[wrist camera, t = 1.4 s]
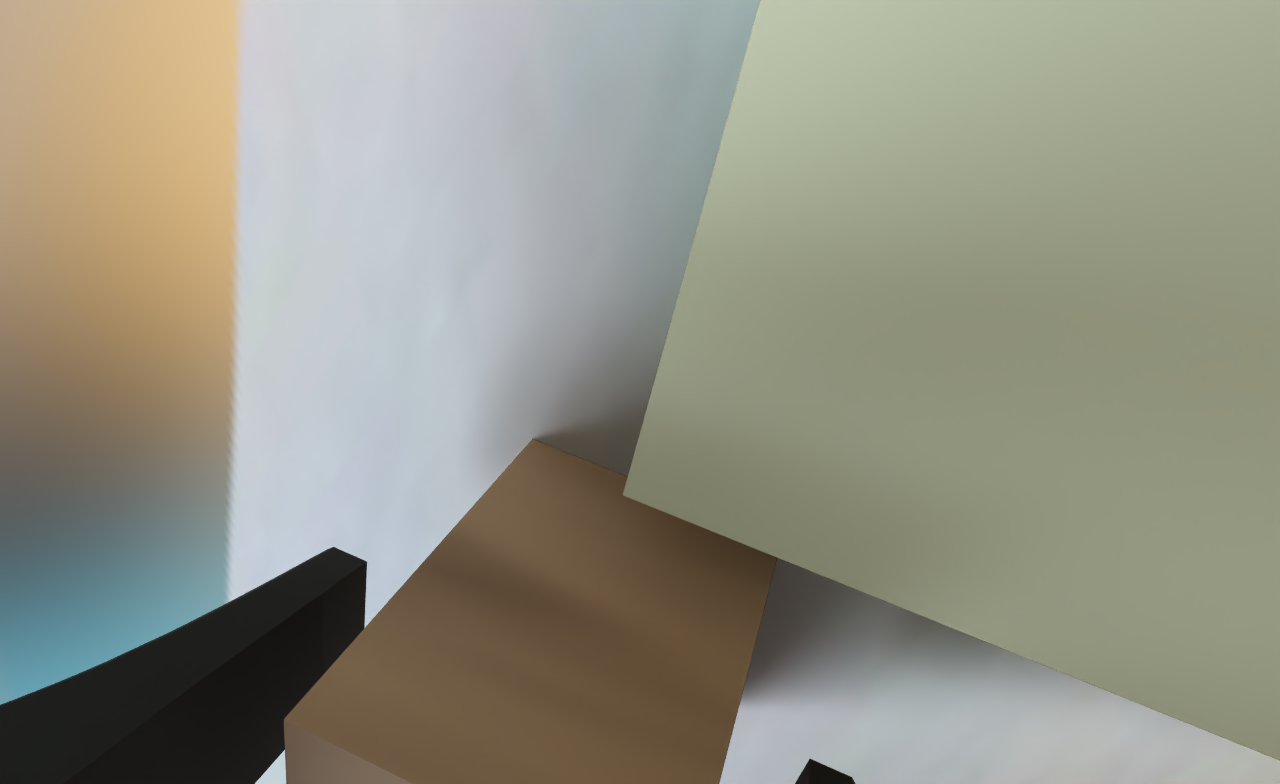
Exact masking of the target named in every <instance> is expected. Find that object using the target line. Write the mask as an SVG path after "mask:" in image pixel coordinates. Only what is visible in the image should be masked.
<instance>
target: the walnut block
mask: <svg viewBox="0 0 1280 784" xmlns="http://www.w3.org/2000/svg"><path fill="white" fill-rule="evenodd" d="M627 478H628V477H626V476H624V475H621V474H619V473H616V472H614V471H611V470H609V469H606V468H604V467H601V466H599V465H596V464H594V463H591V462H589V461H586V460H584V459H581V458H579V457H576V456H574V455H571V454H568V453H566V452H563V451H561V450H558V449H556V448H553V447H551V446H548V445H546V444H543V443H541V442H538V441H536V440H533V439H532V440H531V441H530V443H529V444H528V445H527V446H526V447H525V448H524V449H523V450H522V452H521V453H520V454H519V455H518V456H517V457H516V458H515V459H514V461H513V462H512V463H511V464H510V465H509V466H508V467H507V468H506V470H505V471H504V472H503V473H502V474H501V475H500V476H499V477H498V479H497V480H496V481H495V482H494V483H493V484H492V485H491V486H490V488H489V489H488V490H487V491H486V492H485V493H484V494H483V496H482V497H481V498H480V499H479V500H478V501H477V502H476V503H475V505H474V506H473V507H472V508H471V509H470V510H469V511H468V512H467V514H466V515H465V516H464V517H463V518H462V519H461V520H460V521H459V523H458V524H457V525H456V526H455V527H454V528H453V529H452V530H451V532H450V533H449V534H448V535H447V536H446V537H445V538H444V539H443V541H442V542H441V543H440V544H439V545H438V546H437V547H436V548H435V550H434V551H433V552H432V553H431V554H430V555H429V556H428V557H427V559H426V560H425V561H424V562H423V563H422V564H421V565H420V566H419V568H418V569H417V570H416V571H415V572H414V573H413V574H412V575H411V577H410V578H409V579H408V580H407V581H406V582H405V583H404V585H403V586H402V587H401V588H400V589H399V590H398V591H397V592H396V594H395V595H394V596H393V597H392V598H391V599H390V600H389V601H388V603H387V604H386V605H385V606H384V607H383V608H382V609H381V610H380V612H379V613H378V614H377V615H376V616H375V617H374V618H373V619H372V621H371V622H370V623H369V624H368V625H367V626H366V627H365V628H364V630H363V631H362V632H361V633H360V634H359V635H358V636H357V637H356V639H355V640H354V641H353V642H352V643H351V644H350V645H349V646H348V648H347V649H346V650H345V651H344V652H343V653H342V654H341V655H340V657H339V658H338V659H337V660H336V661H335V662H334V663H333V665H332V666H331V667H330V668H329V669H328V670H327V671H326V672H325V674H324V675H323V676H322V677H321V678H320V679H319V680H318V681H317V683H316V684H315V685H314V686H313V687H312V688H311V689H310V690H309V692H308V693H307V694H306V695H305V696H304V697H303V698H302V699H301V701H300V702H299V703H298V704H297V705H296V706H295V707H294V708H293V710H292V711H291V712H290V713H289V714H288V715H287V716H286V717H285V719H284V738H285V760H286V783H287V784H719V782H720V778H721V774H722V770H723V767H724V763H725V759H726V755H727V751H728V747H729V743H730V739H731V735H732V731H733V728H734V724H735V720H736V716H737V712H738V708H739V704H740V700H741V696H742V692H743V689H744V685H745V681H746V677H747V673H748V669H749V665H750V661H751V657H752V654H753V650H754V646H755V642H756V638H757V634H758V630H759V626H760V622H761V618H762V615H763V611H764V607H765V603H766V599H767V595H768V591H769V587H770V583H771V579H772V576H773V572H774V568H775V564H776V560H777V557H775V556H772V555H770V554H767V553H765V552H762V551H760V550H757V549H755V548H752V547H750V546H747V545H745V544H742V543H740V542H737V541H735V540H732V539H730V538H728V537H725V536H723V535H720V534H718V533H715V532H713V531H710V530H708V529H705V528H703V527H700V526H698V525H695V524H693V523H690V522H688V521H685V520H683V519H680V518H678V517H676V516H673V515H671V514H668V513H666V512H663V511H661V510H658V509H656V508H653V507H651V506H648V505H646V504H643V503H641V502H638V501H636V500H633V499H631V498H628V497H626V496H623V492H624V489H625V485H626V481H627Z"/></svg>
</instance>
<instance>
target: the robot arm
mask: <svg viewBox="0 0 1280 784" xmlns="http://www.w3.org/2000/svg"><path fill="white" fill-rule="evenodd" d="M366 571H367V562H366V561H364V560H362V559H360V558H357V557H355V556H353V555H351V554H348V553H346V552H344V551H342V550H339V549H337V548H335V547H332V548H330V549H327V550H326V551H324V552H322V553H320V554H318V555H316V556H314V557H312V558H311V559H309V560H307V561H305V562H303V563H301V564H300V565H298V566H296V567H294V568H292V569H290V570H288V571H287V572H285V573H283V574H281V575H279V576H277V577H276V578H274V579H272V580H270V581H268V582H266V583H264V584H263V585H261V586H259V587H257V588H255V589H253V590H251V591H249V592H248V593H246V594H244V595H242V596H240V597H238V598H236V599H234V600H232V601H230V602H228V603H226V604H225V605H223V606H221V607H219V608H217V609H215V610H213V611H211V612H209V613H207V614H205V615H203V616H201V617H199V618H197V619H195V620H193V621H191V622H189V623H187V624H185V625H183V626H181V627H179V628H177V629H175V630H173V631H171V632H169V633H167V634H165V635H163V636H161V637H158V638H156V639H154V640H152V641H150V642H148V643H145V644H143V645H141V646H139V647H137V648H135V649H133V650H131V651H128V652H126V653H124V654H122V655H120V656H117V657H115V658H113V659H111V660H109V661H107V662H104V663H102V664H100V665H98V666H95V667H93V668H91V669H89V670H86V671H84V672H81V673H79V674H77V675H74V676H72V677H70V678H67V679H65V680H62V681H60V682H58V683H55V684H53V685H50V686H47V687H45V688H42V689H40V690H37V691H35V692H32V693H30V694H27V695H25V696H22V697H20V698H17V699H15V700H12V701H9V702H7V703H4V704H1V705H0V784H255V783H256V781H257V780H258V779H259V778H260V777H261V776H262V775H263V773H264V772H265V771H266V770H267V769H268V768H269V767H270V766H271V764H272V763H273V762H274V761H275V760H276V759H277V758H278V756H279V755H280V754H281V753H282V752H283V751H284V750H285V738H284V719H285V717H286V716H287V715H288V714H289V713H290V712H291V711H292V710H293V708H294V707H295V706H296V705H297V704H298V703H299V702H300V701H301V699H302V698H303V697H304V696H305V695H306V694H307V693H308V692H309V690H310V689H311V688H312V687H313V686H314V685H315V684H316V683H317V681H318V680H319V679H320V678H321V677H322V676H323V675H324V674H325V672H326V671H327V670H328V669H329V668H330V667H331V666H332V665H333V663H334V662H335V661H336V660H337V659H338V658H339V657H340V655H341V654H342V653H343V652H344V651H345V650H346V649H347V648H348V646H349V645H350V644H351V643H352V642H353V641H354V640H355V639H356V637H357V636H358V635H359V634H360V633H361V632H362V631H363V630H364V622H365V597H366ZM795 784H855V782H854V780H853V778H852V777H850V776H848V775H845V774H843V773H841V772H839V771H836V770H834V769H832V768H830V767H827V766H825V765H823V764H821V763H818V762H816V761H814V760H812V759H809V761H808V763H807V764H806V766H805V768H804V770H803V771H802V773H801V775H800V776H799V778H798V780H797V781H796V783H795Z"/></svg>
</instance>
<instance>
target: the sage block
mask: <svg viewBox="0 0 1280 784" xmlns="http://www.w3.org/2000/svg"><path fill="white" fill-rule="evenodd" d="M623 496H626V497H628V498H631V499H633V500H636V501H638V502H641V503H643V504H646V505H648V506H651V507H653V508H656V509H658V510H661V511H663V512H666V513H668V514H671V515H673V516H676V517H678V518H680V519H683V520H685V521H688V522H690V523H693V524H695V525H698V526H700V527H703V528H705V529H708V530H710V531H713V532H715V533H718V534H720V535H723V536H725V537H728V538H730V539H732V540H735V541H737V542H740V543H742V544H745V545H747V546H750V547H752V548H755V549H757V550H760V551H762V552H765V553H767V554H770V555H772V556H775V557H777V558H780V559H782V560H784V561H787V562H789V563H792V564H794V565H797V566H799V567H802V568H804V569H807V570H809V571H812V572H814V573H817V574H819V575H822V576H824V577H827V578H829V579H832V580H834V581H836V582H839V583H841V584H844V585H846V586H849V587H851V588H854V589H856V590H859V591H861V592H864V593H866V594H869V595H871V596H874V597H876V598H879V599H881V600H884V601H886V602H888V603H891V604H893V605H896V606H898V607H901V608H903V609H906V610H908V611H911V612H913V613H916V614H918V615H921V616H923V617H926V618H928V619H931V620H933V621H936V622H938V623H941V624H943V625H945V626H948V627H950V628H953V629H955V630H958V631H960V632H963V633H965V634H968V635H970V636H973V637H975V638H978V639H980V640H983V641H985V642H988V643H990V644H993V645H995V646H997V647H1000V648H1002V649H1005V650H1007V651H1010V652H1012V653H1015V654H1017V655H1020V656H1022V657H1025V658H1027V659H1030V660H1032V661H1035V662H1037V663H1040V664H1042V665H1045V666H1047V667H1049V668H1052V669H1054V670H1057V671H1059V672H1062V673H1064V674H1067V675H1069V676H1072V677H1074V678H1077V679H1079V680H1082V681H1084V682H1087V683H1089V684H1092V685H1094V686H1097V687H1099V688H1101V689H1104V690H1106V691H1109V692H1111V693H1114V694H1116V695H1119V696H1121V697H1124V698H1126V699H1129V700H1131V701H1134V702H1136V703H1139V704H1141V705H1144V706H1146V707H1149V708H1151V709H1153V710H1156V711H1158V712H1161V713H1163V714H1166V715H1168V716H1171V717H1173V718H1176V719H1178V720H1181V721H1183V722H1186V723H1188V724H1191V725H1193V726H1196V727H1198V728H1201V729H1203V730H1206V731H1208V732H1210V733H1213V734H1215V735H1218V736H1220V737H1223V738H1225V739H1228V740H1230V741H1233V742H1235V743H1238V744H1240V745H1243V746H1245V747H1248V748H1250V749H1253V750H1255V751H1258V752H1260V753H1262V754H1265V755H1267V756H1270V757H1272V758H1275V759H1277V760H1280V0H760V3H759V6H758V10H757V14H756V17H755V21H754V24H753V28H752V32H751V35H750V39H749V42H748V46H747V50H746V53H745V57H744V60H743V64H742V68H741V71H740V75H739V78H738V82H737V86H736V89H735V93H734V96H733V100H732V104H731V107H730V111H729V114H728V118H727V122H726V125H725V129H724V132H723V136H722V140H721V143H720V147H719V150H718V154H717V157H716V161H715V165H714V168H713V172H712V175H711V179H710V183H709V186H708V190H707V193H706V197H705V201H704V204H703V208H702V211H701V215H700V219H699V222H698V226H697V229H696V233H695V237H694V240H693V244H692V247H691V251H690V255H689V258H688V262H687V265H686V269H685V273H684V276H683V280H682V283H681V287H680V291H679V294H678V298H677V301H676V305H675V309H674V312H673V316H672V319H671V323H670V327H669V330H668V334H667V337H666V341H665V345H664V348H663V352H662V355H661V359H660V363H659V366H658V370H657V373H656V377H655V381H654V384H653V388H652V391H651V395H650V399H649V402H648V406H647V409H646V413H645V417H644V420H643V424H642V427H641V431H640V435H639V438H638V442H637V445H636V449H635V453H634V456H633V460H632V463H631V467H630V471H629V474H628V478H627V481H626V485H625V489H624V492H623Z"/></svg>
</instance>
